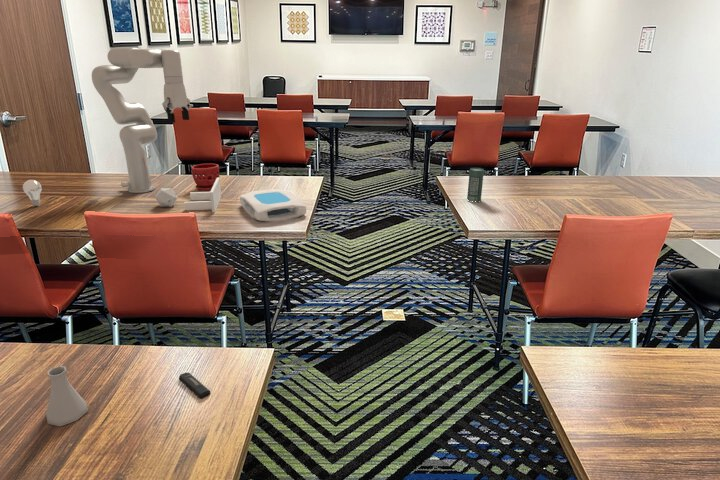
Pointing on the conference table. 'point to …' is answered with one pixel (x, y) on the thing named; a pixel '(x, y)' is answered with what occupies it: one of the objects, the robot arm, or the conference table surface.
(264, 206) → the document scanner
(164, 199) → the die
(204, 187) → the plant pot
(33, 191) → the light bulb
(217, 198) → the two-post plank stand
